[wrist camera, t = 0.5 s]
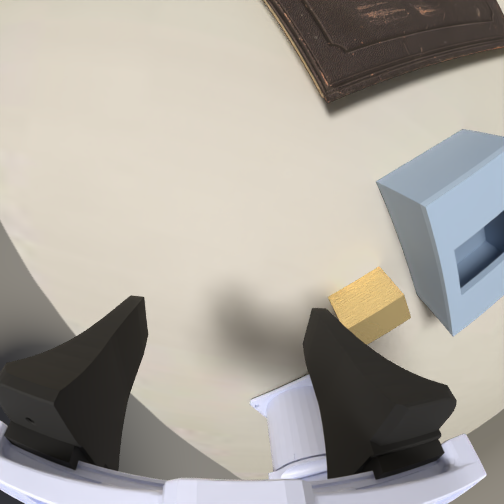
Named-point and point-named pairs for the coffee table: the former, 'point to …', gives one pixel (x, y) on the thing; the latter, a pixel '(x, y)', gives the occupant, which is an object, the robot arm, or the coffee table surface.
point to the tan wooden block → (370, 306)
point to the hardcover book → (383, 37)
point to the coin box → (452, 224)
